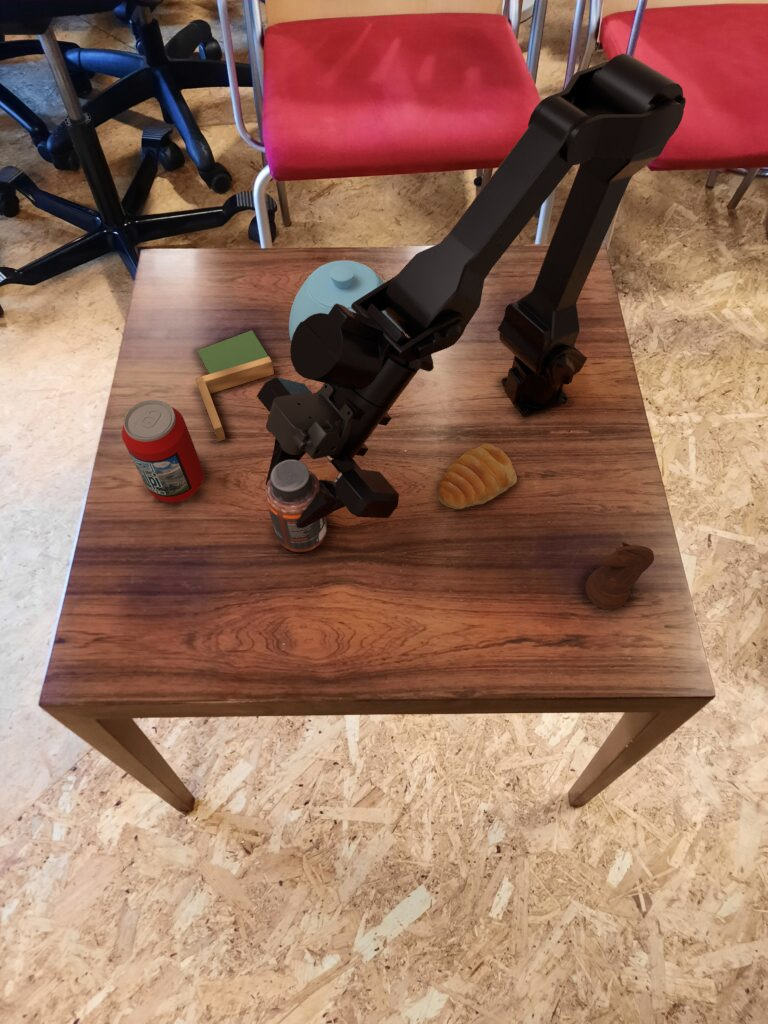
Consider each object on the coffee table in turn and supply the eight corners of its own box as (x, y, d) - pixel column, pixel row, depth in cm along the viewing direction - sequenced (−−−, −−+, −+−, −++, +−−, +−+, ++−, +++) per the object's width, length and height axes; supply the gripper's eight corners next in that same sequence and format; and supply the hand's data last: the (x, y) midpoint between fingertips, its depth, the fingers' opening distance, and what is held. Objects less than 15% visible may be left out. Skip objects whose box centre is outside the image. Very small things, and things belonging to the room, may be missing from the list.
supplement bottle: (338, 534, 84) (331, 478, 74) (295, 564, 82) (282, 510, 72) (307, 500, 86) (297, 442, 77) (265, 528, 84) (249, 471, 75)
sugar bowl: (311, 292, 104) (303, 222, 95) (413, 312, 102) (416, 243, 92) (275, 368, 97) (262, 301, 87) (384, 391, 95) (384, 325, 85)
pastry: (461, 526, 84) (464, 509, 81) (423, 488, 87) (424, 470, 84) (520, 484, 87) (525, 465, 84) (481, 448, 90) (484, 429, 87)
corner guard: (271, 369, 97) (269, 356, 95) (293, 417, 93) (291, 404, 91) (199, 391, 95) (195, 378, 93) (218, 441, 91) (214, 429, 89)
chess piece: (582, 571, 81) (605, 526, 73) (628, 572, 81) (657, 527, 73) (587, 609, 79) (612, 567, 70) (635, 610, 79) (665, 568, 70)
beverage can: (137, 495, 87) (103, 433, 76) (167, 452, 90) (138, 387, 80) (187, 513, 85) (160, 452, 75) (215, 469, 89) (193, 405, 78)
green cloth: (252, 331, 100) (252, 329, 100) (270, 360, 98) (269, 358, 97) (197, 352, 99) (196, 350, 98) (213, 382, 96) (213, 380, 96)
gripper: (259, 316, 69) (182, 441, 75) (372, 445, 61) (275, 573, 67) (334, 341, 78) (260, 451, 85) (441, 456, 70) (350, 568, 76)
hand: (284, 506), depth 78 cm, fingers closed on supplement bottle, 6 cm apart
